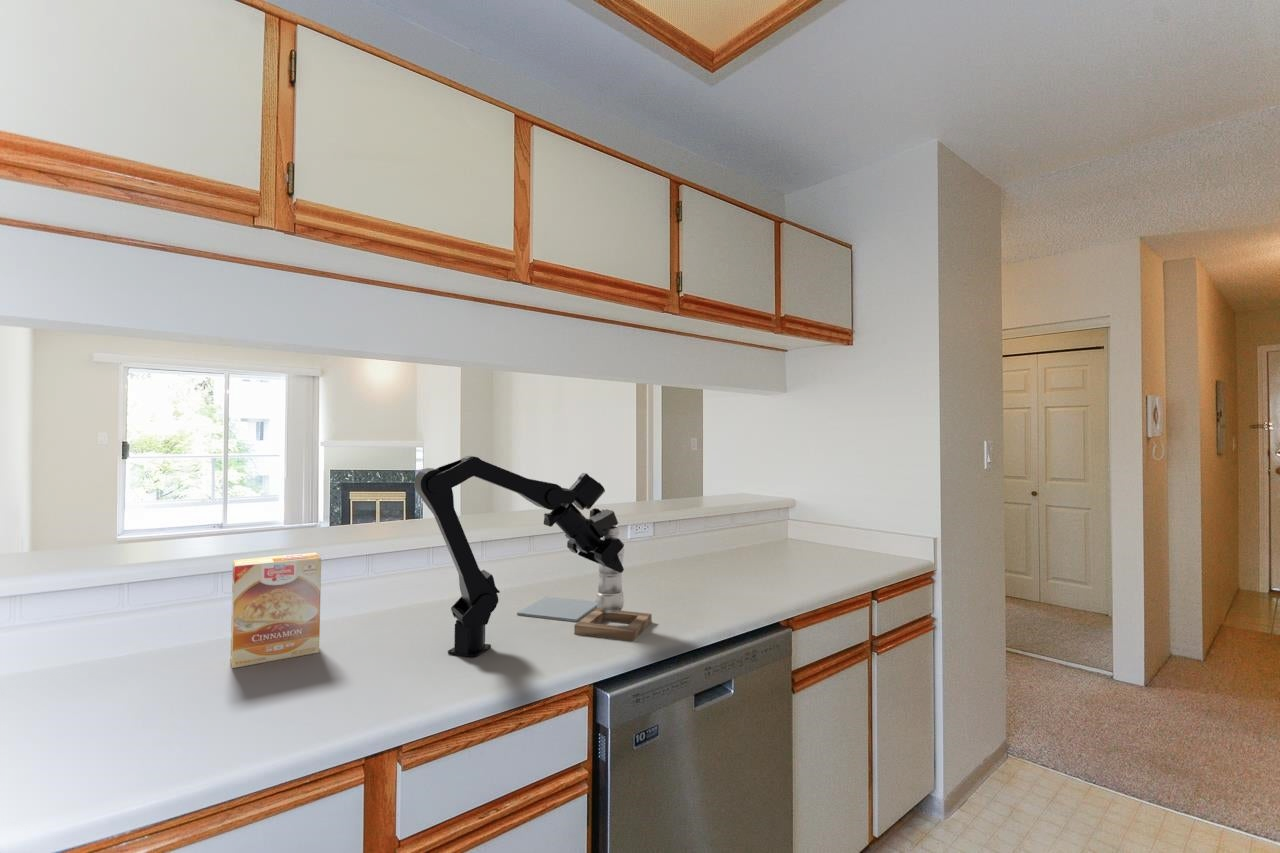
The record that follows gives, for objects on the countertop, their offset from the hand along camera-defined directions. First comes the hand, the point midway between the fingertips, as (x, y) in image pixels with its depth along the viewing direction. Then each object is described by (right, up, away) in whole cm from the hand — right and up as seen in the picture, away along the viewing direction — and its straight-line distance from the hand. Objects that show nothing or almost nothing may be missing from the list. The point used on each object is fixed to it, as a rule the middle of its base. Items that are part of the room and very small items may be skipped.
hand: (615, 568), depth 143 cm
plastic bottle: (-1, -10, -1) cm, 10 cm away
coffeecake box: (-67, -12, -22) cm, 72 cm away
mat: (-15, -13, +12) cm, 23 cm away
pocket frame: (0, -13, -2) cm, 13 cm away
